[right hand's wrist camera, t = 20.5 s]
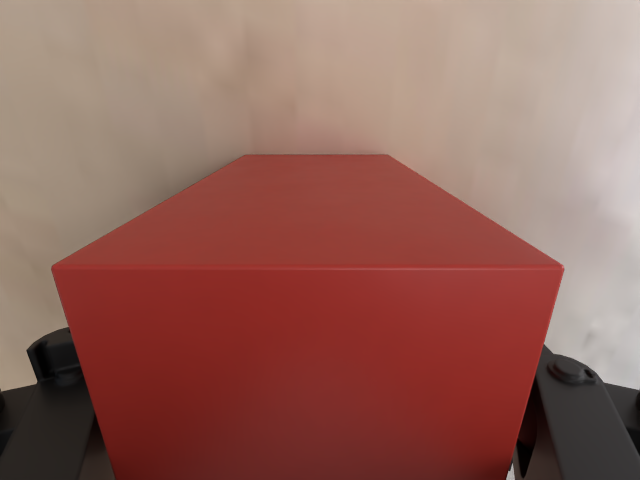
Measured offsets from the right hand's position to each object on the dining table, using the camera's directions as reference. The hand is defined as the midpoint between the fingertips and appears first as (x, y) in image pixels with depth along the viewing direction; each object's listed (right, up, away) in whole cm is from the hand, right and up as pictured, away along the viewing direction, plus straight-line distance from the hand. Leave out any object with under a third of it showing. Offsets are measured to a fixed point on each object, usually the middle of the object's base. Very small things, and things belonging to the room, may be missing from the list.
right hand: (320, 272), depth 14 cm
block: (0, +1, +3) cm, 3 cm away
